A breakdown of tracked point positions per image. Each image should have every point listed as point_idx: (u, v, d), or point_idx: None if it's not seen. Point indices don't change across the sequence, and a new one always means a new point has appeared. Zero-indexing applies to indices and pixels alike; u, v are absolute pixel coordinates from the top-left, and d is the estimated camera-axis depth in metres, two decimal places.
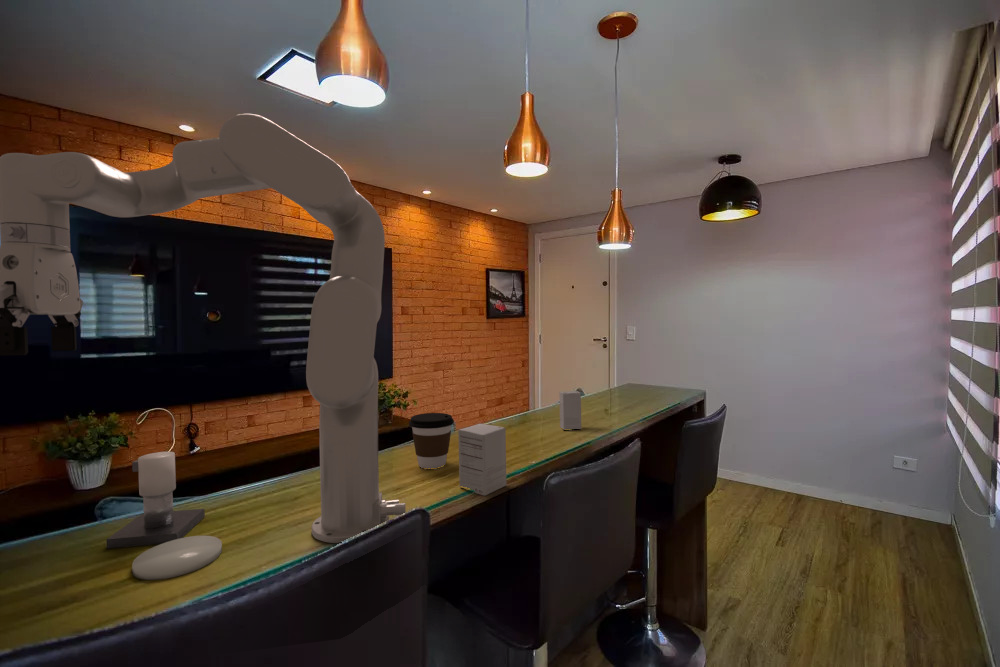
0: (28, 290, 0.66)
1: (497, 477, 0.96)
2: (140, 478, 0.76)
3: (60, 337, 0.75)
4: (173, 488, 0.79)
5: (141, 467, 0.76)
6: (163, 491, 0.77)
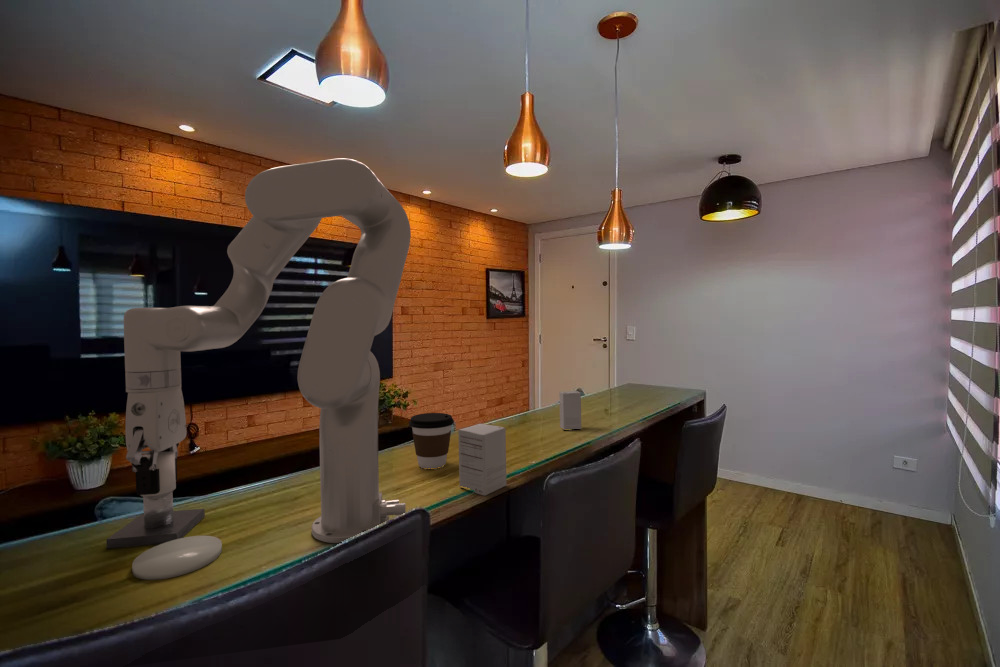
0: (153, 433, 0.74)
1: (497, 477, 0.96)
2: None
3: None
4: (173, 488, 0.79)
5: None
6: (163, 491, 0.77)
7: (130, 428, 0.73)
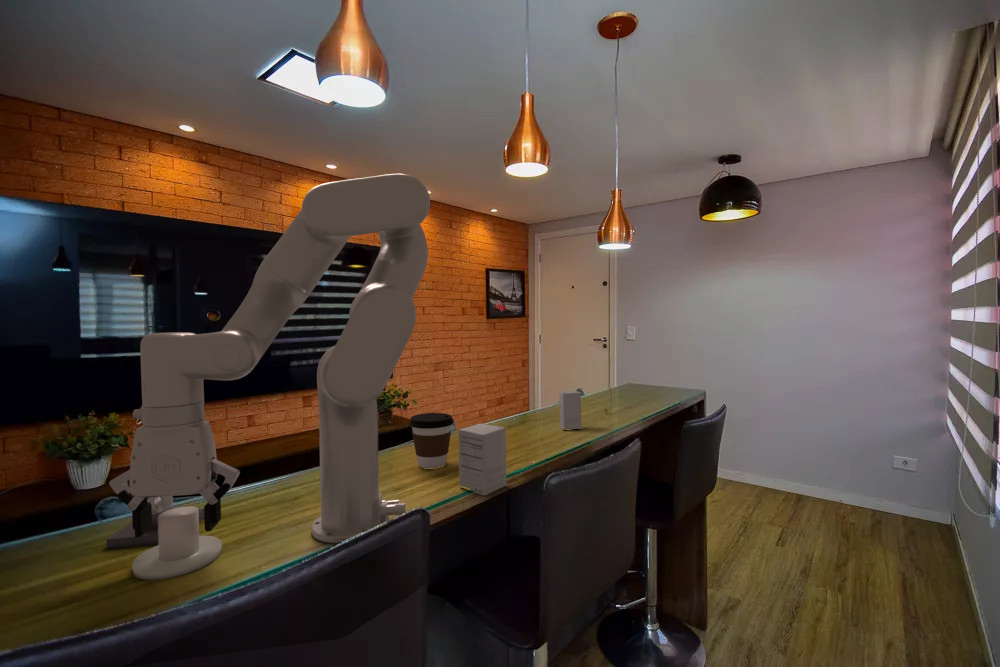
0: (130, 475, 0.66)
1: (497, 477, 0.96)
2: None
3: None
4: (169, 559, 0.67)
5: None
6: (160, 556, 0.67)
7: None
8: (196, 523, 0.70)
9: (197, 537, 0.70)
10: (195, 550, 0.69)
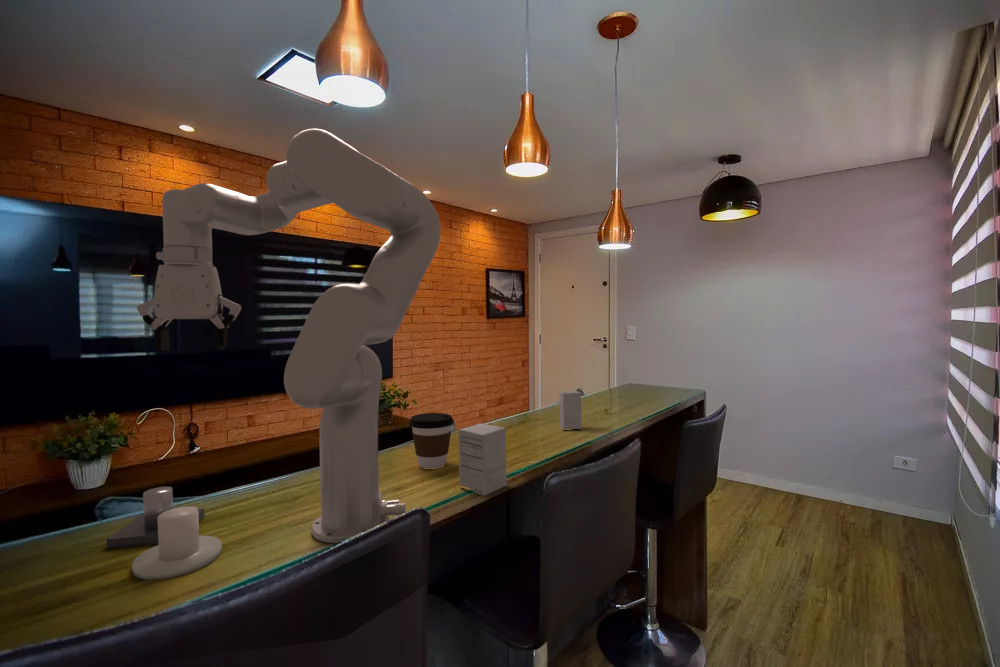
0: None
1: (497, 477, 0.96)
2: None
3: None
4: (169, 559, 0.67)
5: None
6: (160, 557, 0.67)
7: None
8: (196, 523, 0.70)
9: (197, 537, 0.70)
10: (195, 550, 0.69)
